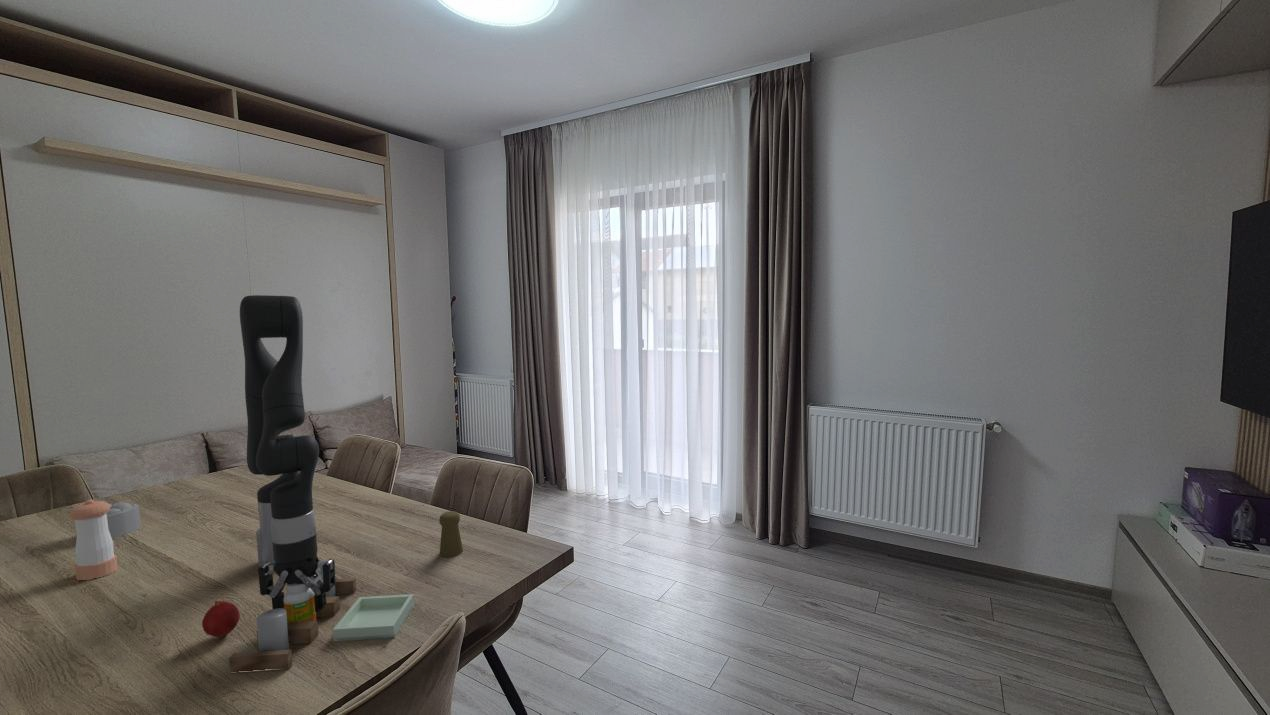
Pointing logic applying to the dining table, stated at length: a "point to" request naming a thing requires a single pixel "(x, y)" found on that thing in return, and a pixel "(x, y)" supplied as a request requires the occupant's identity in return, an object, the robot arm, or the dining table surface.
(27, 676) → the dining table surface
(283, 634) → the front canister
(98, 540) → the salt shaker
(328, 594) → the cylinder
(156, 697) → the dining table surface
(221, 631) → the onion
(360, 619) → the tray
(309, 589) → the supplement bottle
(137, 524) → the grey egg carton
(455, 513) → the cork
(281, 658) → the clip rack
